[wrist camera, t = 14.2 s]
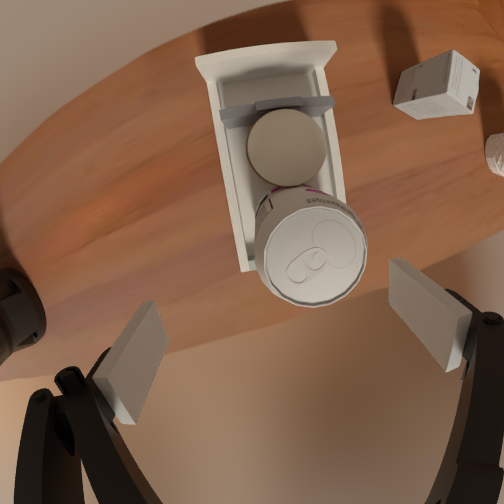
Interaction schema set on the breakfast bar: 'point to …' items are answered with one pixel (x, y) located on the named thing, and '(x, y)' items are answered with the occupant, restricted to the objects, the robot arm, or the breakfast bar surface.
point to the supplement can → (308, 245)
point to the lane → (234, 140)
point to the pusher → (253, 112)
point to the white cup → (495, 153)
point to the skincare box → (438, 87)
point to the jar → (286, 148)
